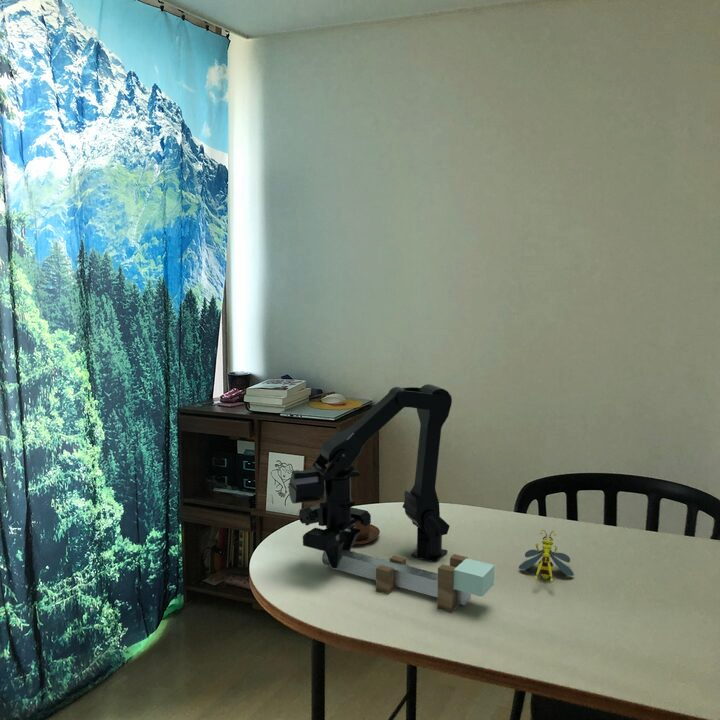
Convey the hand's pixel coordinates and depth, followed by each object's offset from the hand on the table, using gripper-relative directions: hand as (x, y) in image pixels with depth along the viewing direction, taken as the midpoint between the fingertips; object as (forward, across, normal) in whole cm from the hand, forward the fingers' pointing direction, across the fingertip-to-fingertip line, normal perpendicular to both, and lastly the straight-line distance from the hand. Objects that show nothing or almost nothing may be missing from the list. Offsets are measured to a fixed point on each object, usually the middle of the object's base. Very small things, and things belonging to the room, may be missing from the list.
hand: (338, 565), depth 156 cm
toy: (+2, -20, +40) cm, 45 cm away
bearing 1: (+1, 0, +13) cm, 13 cm away
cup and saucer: (+2, -17, -6) cm, 19 cm away
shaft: (+1, 0, +14) cm, 14 cm away
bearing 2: (+1, 0, +27) cm, 27 cm away
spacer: (-3, 0, +32) cm, 32 cm away
